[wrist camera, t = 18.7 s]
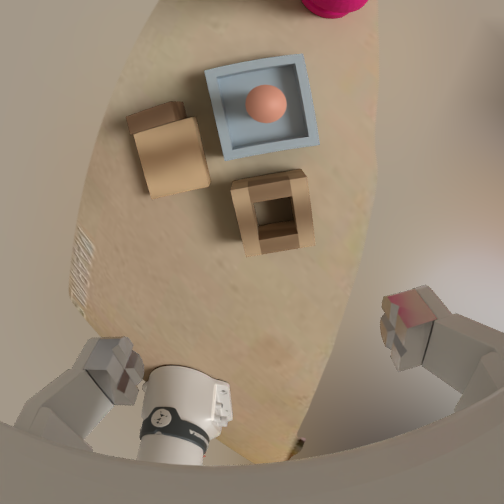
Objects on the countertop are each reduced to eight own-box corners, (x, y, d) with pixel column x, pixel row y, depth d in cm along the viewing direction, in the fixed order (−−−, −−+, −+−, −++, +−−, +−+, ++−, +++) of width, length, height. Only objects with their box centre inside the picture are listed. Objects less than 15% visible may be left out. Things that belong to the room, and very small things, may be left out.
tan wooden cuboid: (211, 180, 33) (208, 186, 31) (158, 193, 34) (151, 199, 32) (196, 116, 30) (192, 117, 27) (141, 132, 30) (133, 134, 28)
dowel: (279, 116, 28) (290, 119, 19) (251, 121, 29) (249, 126, 20) (273, 90, 27) (282, 81, 18) (245, 95, 27) (241, 88, 18)
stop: (187, 118, 29) (175, 120, 25) (147, 130, 30) (130, 134, 25) (183, 102, 28) (170, 101, 24) (143, 114, 29) (125, 116, 24)
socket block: (309, 230, 36) (315, 245, 32) (246, 241, 37) (246, 257, 33) (301, 168, 32) (306, 177, 28) (233, 180, 33) (230, 190, 29)
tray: (314, 141, 30) (319, 144, 28) (227, 156, 31) (224, 161, 29) (298, 58, 26) (302, 53, 23) (208, 73, 27) (204, 70, 24)
